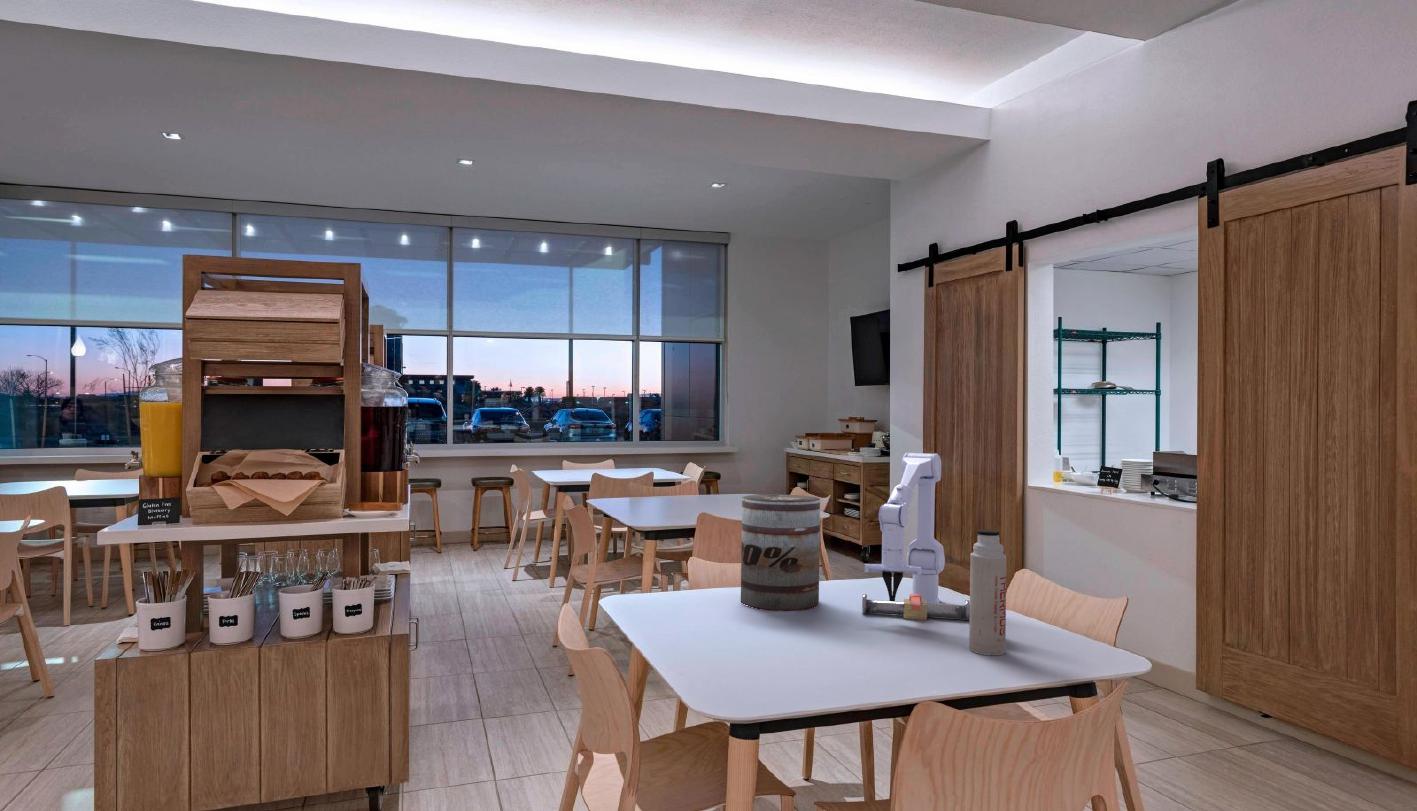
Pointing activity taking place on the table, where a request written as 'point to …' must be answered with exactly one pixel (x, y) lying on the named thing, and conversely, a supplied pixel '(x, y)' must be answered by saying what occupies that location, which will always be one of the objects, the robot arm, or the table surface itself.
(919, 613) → the pipe and valve
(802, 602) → the barrel
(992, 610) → the thermos bottle
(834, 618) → the table surface
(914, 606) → the lever
